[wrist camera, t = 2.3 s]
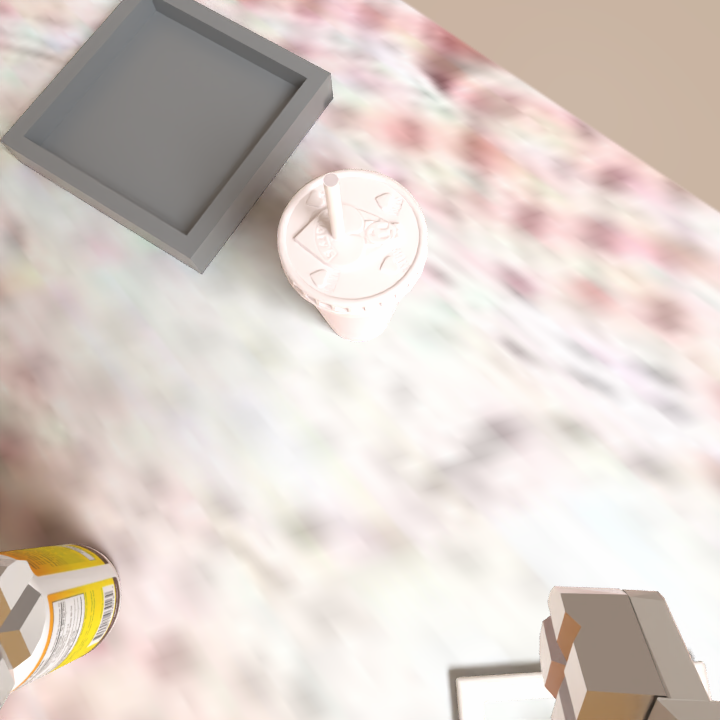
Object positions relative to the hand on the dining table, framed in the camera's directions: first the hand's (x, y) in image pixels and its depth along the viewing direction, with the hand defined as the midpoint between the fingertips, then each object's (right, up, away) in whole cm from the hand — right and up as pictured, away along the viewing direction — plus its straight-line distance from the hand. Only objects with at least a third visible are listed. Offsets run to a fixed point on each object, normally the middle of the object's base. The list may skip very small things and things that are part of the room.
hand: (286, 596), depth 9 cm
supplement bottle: (-14, -9, +22) cm, 27 cm away
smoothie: (+1, +6, +25) cm, 26 cm away
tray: (-10, +18, +28) cm, 35 cm away
